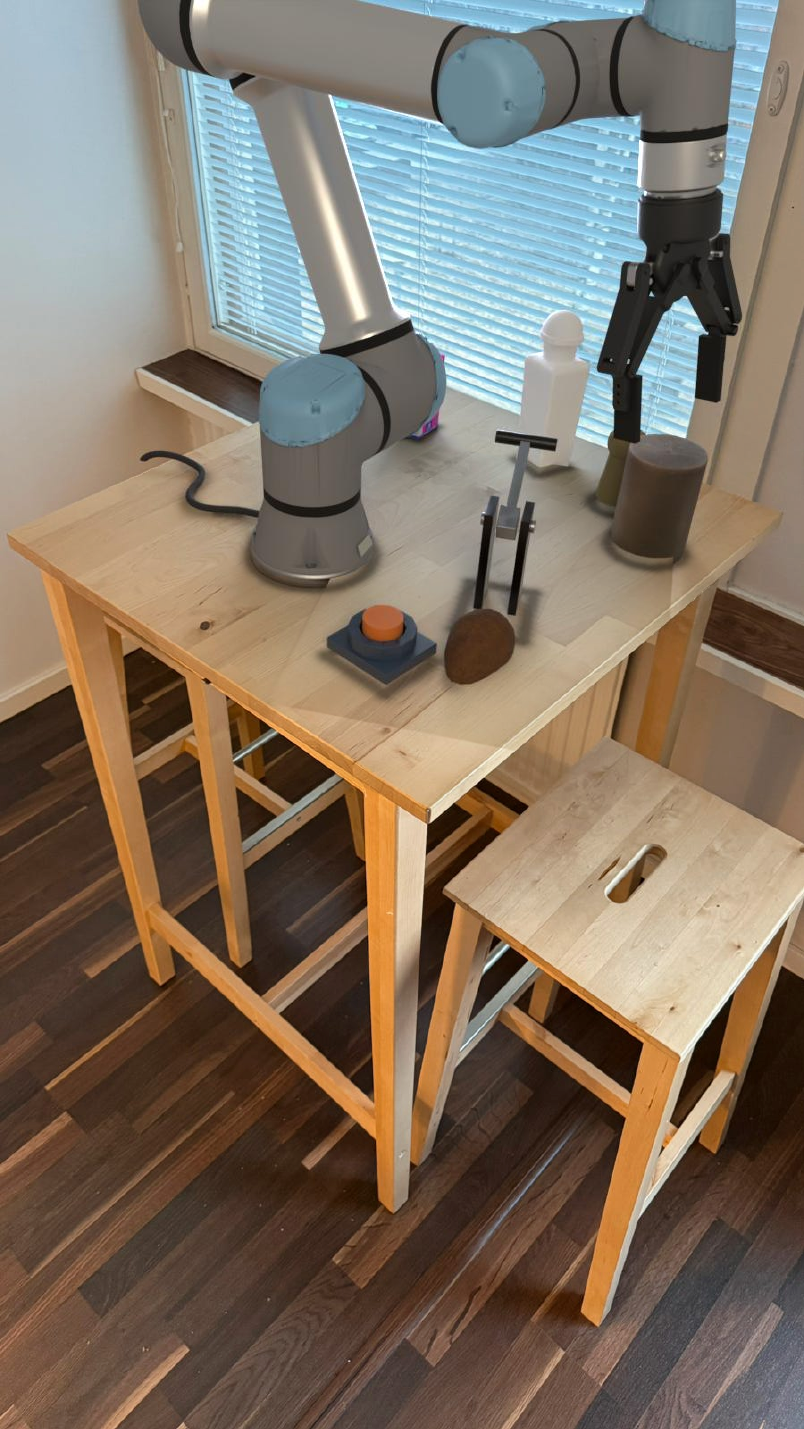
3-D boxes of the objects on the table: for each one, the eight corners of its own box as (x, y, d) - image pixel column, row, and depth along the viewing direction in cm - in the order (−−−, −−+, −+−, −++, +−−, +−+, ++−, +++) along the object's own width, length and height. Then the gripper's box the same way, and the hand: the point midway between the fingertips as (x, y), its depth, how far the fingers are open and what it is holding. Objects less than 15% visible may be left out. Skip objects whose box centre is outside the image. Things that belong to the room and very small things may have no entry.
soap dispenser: (546, 449, 153) (569, 299, 138) (573, 468, 148) (600, 315, 134) (510, 458, 150) (530, 306, 135) (537, 478, 146) (561, 323, 131)
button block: (326, 656, 113) (326, 623, 110) (376, 626, 118) (378, 594, 115) (385, 695, 109) (387, 662, 106) (435, 662, 113) (438, 629, 110)
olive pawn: (634, 495, 143) (651, 422, 136) (637, 518, 139) (655, 443, 132) (591, 491, 144) (605, 418, 136) (593, 513, 139) (608, 438, 132)
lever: (496, 437, 119) (497, 424, 116) (556, 446, 118) (558, 433, 115) (474, 534, 114) (474, 522, 112) (536, 544, 113) (537, 533, 111)
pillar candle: (657, 576, 128) (685, 468, 118) (593, 545, 133) (615, 439, 123) (697, 547, 134) (727, 442, 124) (634, 519, 139) (658, 415, 129)
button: (353, 629, 110) (353, 616, 109) (381, 612, 113) (382, 599, 112) (383, 647, 108) (383, 634, 107) (411, 630, 111) (412, 617, 109)
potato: (423, 681, 111) (428, 629, 106) (469, 633, 118) (475, 582, 113) (481, 705, 108) (488, 653, 104) (524, 654, 115) (532, 603, 110)
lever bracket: (470, 582, 125) (481, 481, 116) (534, 593, 124) (551, 492, 115) (454, 629, 118) (465, 525, 109) (523, 641, 117) (540, 537, 108)
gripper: (627, 221, 84) (620, 466, 96) (793, 166, 97) (769, 390, 109) (557, 215, 89) (559, 450, 101) (724, 164, 101) (708, 378, 114)
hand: (668, 419), depth 105 cm, fingers open, 13 cm apart
